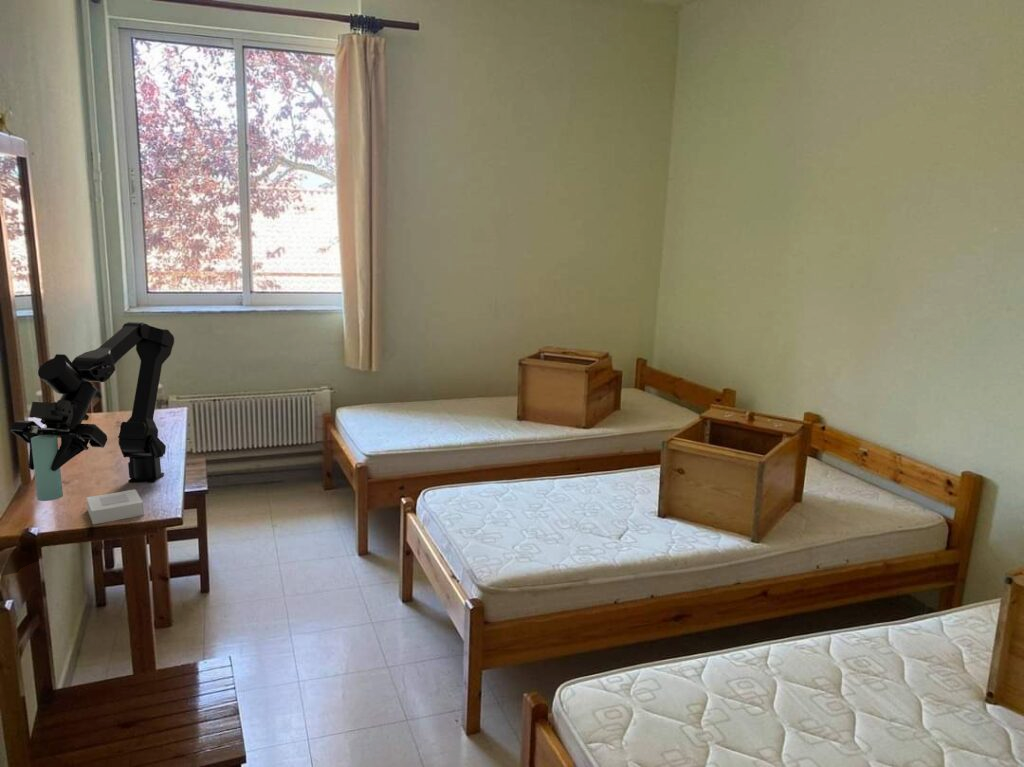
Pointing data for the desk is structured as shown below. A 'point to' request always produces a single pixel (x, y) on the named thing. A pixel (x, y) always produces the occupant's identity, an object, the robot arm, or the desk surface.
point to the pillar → (46, 467)
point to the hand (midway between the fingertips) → (41, 469)
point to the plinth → (114, 506)
